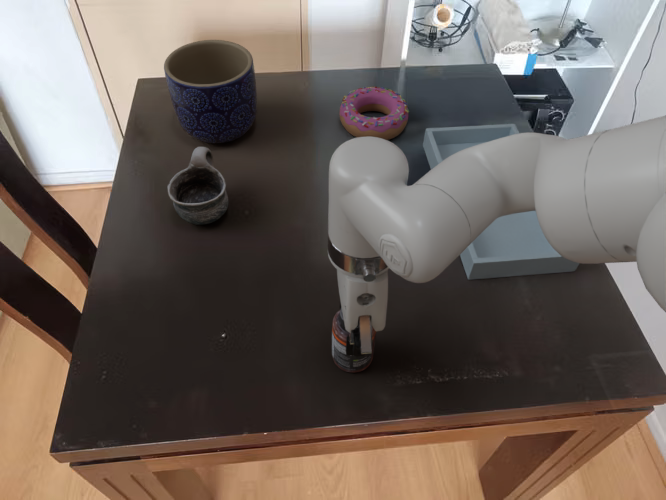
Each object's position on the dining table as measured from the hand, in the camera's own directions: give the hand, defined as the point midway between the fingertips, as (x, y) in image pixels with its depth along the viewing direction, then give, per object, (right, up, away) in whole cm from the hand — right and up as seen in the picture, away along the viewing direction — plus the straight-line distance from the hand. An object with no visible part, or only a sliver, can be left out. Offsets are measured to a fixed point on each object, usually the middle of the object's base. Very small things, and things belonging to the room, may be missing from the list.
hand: (354, 330), depth 72 cm
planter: (-26, +36, +39) cm, 59 cm away
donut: (+6, +37, +41) cm, 56 cm away
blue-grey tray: (+26, +19, +26) cm, 42 cm away
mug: (-26, +18, +24) cm, 40 cm away
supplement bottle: (0, -5, +5) cm, 7 cm away
